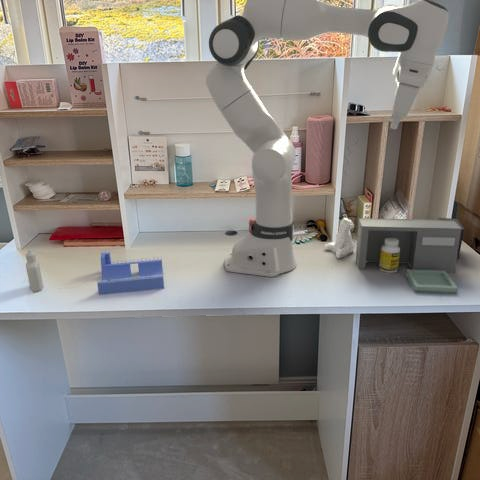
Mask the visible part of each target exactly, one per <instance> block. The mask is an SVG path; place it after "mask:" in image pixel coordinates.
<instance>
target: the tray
mask: <svg viewBox="0 0 480 480" xmlns="http://www.w3.org/2000/svg"><path fill="white" fill-rule="evenodd" d="M405 276H406V278H407V279H408V282H409V284H410V286H411V288H412V290H413V292H414V293H423V294H424V293H426V294H427V293H428V294H446V295H448V294H451V295H453V294H454V295H457V293H458V287H457V285H456V284H455V282H454V281H453V280H452V278H451V276H450V275H449V272H446V271H437V270H412V269H406V274H405Z"/></svg>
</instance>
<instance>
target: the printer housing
mask: <svg viewBox="0 0 480 480" xmlns="http://www.w3.org/2000/svg"><path fill="white" fill-rule="evenodd" d="M357 227H358V229H357V238H356V239H357V240H356V241H357V242H356V252H355V263H356V265H357V269H358V270H360V271H361V270H364V271H365V270H366V265H367V263H368V262H369V263H370V262H371V263H372V262H373V263H380V256H381V248H382V246H383V245H385V244H384V242H385V238H390V237H391V238H396V239H398V240H399V244H398V247H399V248H400V255H399V263H398V264H408V265H409V268H410V270H437V271H446V272H447V273H448V274H449V273H453V274H454V273H455V271H456V266H457V264H456V263H457V260H458V259H457V253H458V247H459V241H460V235H461V229H462V228H461V227H460V226H459V225H458V224H457V223H456V222H455V221H454V220H438V219H408V218H407V219H405V218H371V217H370V218H368V217H367V218H366V217H362V218H361V217H359V218H358V225H357Z"/></svg>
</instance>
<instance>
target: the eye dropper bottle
mask: <svg viewBox="0 0 480 480" xmlns="http://www.w3.org/2000/svg"><path fill="white" fill-rule="evenodd" d="M25 257H26V264H25V268H26V273H27V279H28V282H29V289H30V291H31V292H32V293H34V292H35V293H37V292H41V291H42V290H43V288H44V283H43V277H42V272H41V267H40V263H39V260H37V256H36V253H35V252H33V251H32V249H31V248H29V249H27V253H25Z"/></svg>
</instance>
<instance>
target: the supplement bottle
mask: <svg viewBox="0 0 480 480" xmlns="http://www.w3.org/2000/svg"><path fill="white" fill-rule="evenodd" d="M384 244H385V245H383V246H382V248H381V256H380V262H379V266H378V267H379V268H378V269H379V270H380V271H381V272H383V273H387V274H388V273H389V274H392V273H396V272H398V268H399V264H400V263H399V255H400V248H399V247H398V244H399V240H398V239H396V238H391V237H390V238H385V242H384Z"/></svg>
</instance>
